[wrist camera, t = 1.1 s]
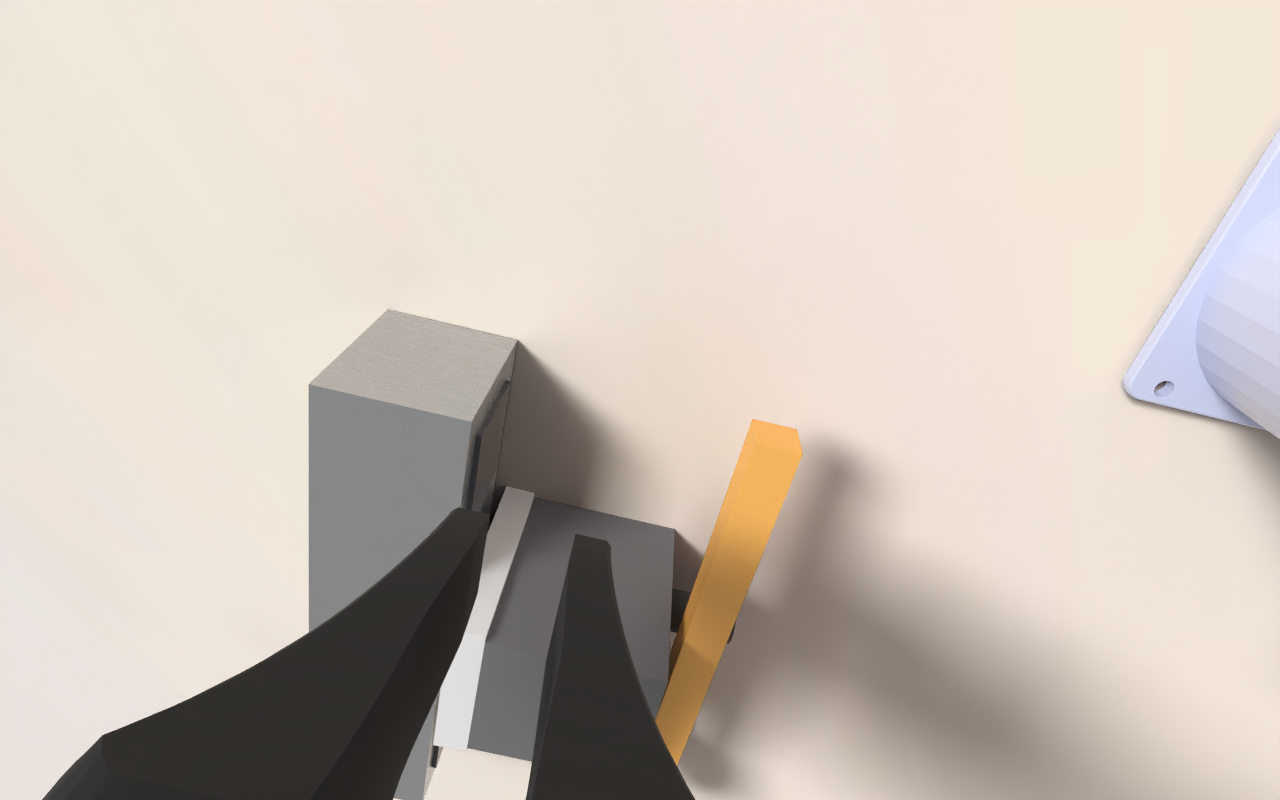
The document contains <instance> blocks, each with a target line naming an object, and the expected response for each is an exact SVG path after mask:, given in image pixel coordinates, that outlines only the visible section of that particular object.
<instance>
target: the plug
mask: <svg viewBox="0 0 1280 800" xmlns="http://www.w3.org/2000/svg"><path fill="white" fill-rule="evenodd" d="M534 496H535V493H533V492H529V491H525V490H520V489H516V488H511V487H506V489H505V492H504V494H503V497H502V499H501V501H500V504H499V506H498V509H497V511H496V514H495V516H494V519H493V521H492V524H491V526H490V528H489V531H488V533H487V537H486V544H485V550H484V557H483V563H482V569H481V576H480V582H479V589H478V594H477V597H476V600H475V603H474V606H473V609H472V612H471V615H470V618H469V621H468V624H467V627H466V630H465V633H464V636H463V639H462V642H461V644H460V646H459V649H458V651H457V653H456V655H455V657H454V660H453V662H452V664H451V666H450V668H449V670H448V673H447V675H446V677H445V679H444V681H443V684H442V686H441V689H440V697H439V704H438V712H437V719H436V727H435V734H434V742H433V745H435V746H440V747H445V748H449V749H454V750H459V751H464V752H466V751H467V748H470V749H475V750H480V751H484V752H489V753H494V754H499V755H503V756H508V757H513V758H518V759H522V760H527V761H532V759H533V751H534V744H535V737H536V729H537V722H538V715H539V707H540V700H541V693H542V685H543V678H544V671H545V664H546V658H547V654H548V649H549V645H550V641H551V636H552V632H553V628H554V624H555V619H556V615H557V611H558V606H559V602H560V598H561V593H562V589H563V585H564V580H565V576H566V572H567V568H568V563H569V559H570V555H571V551H572V546H573V542H574V538H575V534H579V535H584V536H588V537H592V538H597V539H601V540H606V541H607V542H608V543H609V544H610V546H611V565H612V574H613V582H614V588H615V594H616V599H617V604H618V609H619V613H620V617H621V622H622V626H623V630H624V634H625V638H626V641H627V645H628V648H629V652H630V655H631V658H632V661H633V664H634V668H635V671H636V674H637V676H638V679H639V682H640V685H641V688H642V690H643V693H644V696H645V698H646V701H647V703H648V706H649V708H650V711H651V713H652V715H653V718H654V720H655V717H656V714H657V711H658V709H659V706H660V703H661V700H662V698H663V695H664V692H665V689H666V686H667V684H668V670H669V648H670V631H671V632H676V633H677V632H678V629H679V627H680V624H681V621H682V618H683V615H684V612H685V610H686V607H687V604H688V601H689V598H690V595H691V593H690V592H685V591H681V590H677V589H672V582H673V560H674V538H675V529H671V528H667V527H663V526H658V525H654V524H649V523H645V522H640V521H636V520H632V519H627V518H623V517H618V516H614V515H610V514H605V513H601V512H596V511H592V510H587V509H583V508H579V507H574V506H570V505H565V504H561V503H556V502H552V501H548V500H543V499H539V498H534ZM735 623H736V621H735ZM735 623H734V626H733V628H732V631H731V633H730V636H729V638H728V641H727V643H726V644H728V643H729V642H730V641H731V638H732V636H733V632H734V628H735Z"/></svg>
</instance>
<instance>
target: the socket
mask: <svg viewBox="0 0 1280 800" xmlns="http://www.w3.org/2000/svg"><path fill="white" fill-rule="evenodd" d="M516 345H517V340H515V339H511V338H506V337H502V336H498V335H494V334H490V333H485V332H481V331H477V330H473V329H468V328H464V327H460V326H456V325H451V324H447V323H443V322H439V321H434V320H430V319H426V318H422V317H418V316H413V315H409V314H405V313H401V312H396V311H392V310H387V311H386V312H385V313H384V314H383V315H382V316H381V317H379V318H378V319H377V320H376V321H375V322H374V323H373V324H372V325H371V326H370V327H369V328H368V329H367V330H366V331H365V332H364V333H363V334H361V335H360V336H359V337H358V338H357V339H356V340H355V341H354V342H353V343H352V344H351V345H350V346H349V347H348V348H347V349H346V350H345V351H343V352H342V353H341V354H340V355H339V356H338V357H337V358H336V359H335V360H334V361H333V362H332V363H331V364H330V365H329V366H328V367H327V368H325V369H324V370H323V371H322V372H321V373H320V374H319V375H318V376H317V377H316V378H315V379H314V380H313V381H312V382H311V383H310V384H309V632H310V631H312V630H313V629H315V628H316V627H318V626H319V625H321V624H322V623H324V622H325V621H327V620H328V619H330V618H331V617H332V616H334V615H335V614H337V613H338V612H339V611H341V610H342V609H343V608H345V607H346V606H347V605H349V604H350V603H351V602H353V601H354V600H355V599H356V598H358V597H359V596H360V595H362V594H363V593H364V592H365V591H367V590H368V589H369V588H370V587H372V586H373V585H374V584H375V583H377V582H378V581H379V580H380V579H382V578H383V577H384V576H385V575H386V574H387V573H389V572H390V571H391V570H392V569H393V568H394V567H395V566H396V565H398V564H399V563H400V562H401V561H402V560H403V559H404V558H405V557H407V556H408V555H409V554H410V553H411V552H412V551H413V550H414V549H415V548H416V547H417V546H418V545H419V544H421V543H422V542H423V541H424V540H425V539H426V538H427V537H428V536H429V535H430V534H431V533H432V532H433V531H434V530H435V529H436V528H437V527H438V526H439V524H440V523H441V522H442V521H443V520H444V519H445V518H446V517H447V516H448V515H449V514H450V512H451V511H452V510H454V509H456V508H458V507H459V508H464V509H468V510H473V511H477V512H481V513H486V514H490V513H491V506H492V500H493V493H494V487H495V480H496V474H497V468H498V461H499V455H500V448H501V442H502V435H503V429H504V422H505V416H506V410H507V403H508V397H509V390H510V384H511V377H512V371H513V365H514V358H515V352H516ZM489 519H490V518H489ZM488 525H489V524H488ZM487 532H488V531H487ZM440 689H441V688H440ZM439 697H440V690H439V692H438V694H437V696H436V699H435V701H434V703H433V705H432V707H431V709H430V712H429V714H428V716H427V718H426V720H425V722H424V725H423V727H422V729H421V731H420V733H419V735H418V738H417V740H416V742H415V744H414V746H413V748H412V751H411V753H410V756H409V758H408V760H407V763H406V765H405V768H404V770H403V772H402V775H401V778H400V781H399V784H398V786H397V789H396V792H395V795H394V798H397V799H402V800H424V797H425V795H426V792H427V789H428V786H429V783H430V780H431V777H432V775H433V772H434V769H435V768H436V767H437V764H438V761H439V758H440V755H441V752H442V749H443V747H440V746H435V745H433V742H434V734H435V727H436V719H437V712H438V704H439Z"/></svg>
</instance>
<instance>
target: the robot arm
mask: <svg viewBox="0 0 1280 800" xmlns="http://www.w3.org/2000/svg"><path fill="white" fill-rule="evenodd" d="M1163 381H1166V384H1165V385H1164V386H1163V387H1162V388H1161V389H1159V390H1157V391H1154V389H1155V387H1156V386H1157V385H1158V384H1159V383H1161V382H1163ZM1122 383H1123V388H1124V390H1125V391H1126V392H1127V393H1128V394H1129V395H1130V396H1131V397H1134V398H1136V399H1138V400H1143V401H1147V402H1151V403H1155V404H1159V405H1163V406H1167V407H1171V408H1176V409H1180V410H1184V411H1188V412H1192V413H1196V414H1200V415H1205V416H1209V417H1213V418H1217V419H1221V420H1225V421H1229V422H1234V423H1238V424H1242V425H1246V426H1250V427H1254V428H1258V429H1263V430H1267V431H1269V432H1270V433H1272V434H1273V435H1274V436H1276V437H1277V438H1279V439H1280V128H1279V130H1278V132H1277V133H1276V135H1275V136H1274V138H1273V140H1272V141H1271V143H1270V144H1269V146H1268V148H1267V149H1266V151H1265V152H1264V154H1263V156H1262V157H1261V159H1260V160H1259V162H1258V164H1257V165H1256V167H1255V168H1254V170H1253V172H1252V173H1251V175H1250V176H1249V178H1248V180H1247V181H1246V183H1245V184H1244V186H1243V188H1242V189H1241V191H1240V192H1239V194H1238V196H1237V197H1236V199H1235V200H1234V202H1233V204H1232V205H1231V207H1230V208H1229V210H1228V212H1227V213H1226V215H1225V216H1224V218H1223V219H1222V221H1221V223H1220V224H1219V226H1218V227H1217V229H1216V231H1215V232H1214V234H1213V235H1212V237H1211V239H1210V240H1209V242H1208V243H1207V245H1206V247H1205V248H1204V250H1203V251H1202V253H1201V255H1200V256H1199V258H1198V259H1197V261H1196V263H1195V264H1194V266H1193V267H1192V269H1191V271H1190V272H1189V274H1188V275H1187V277H1186V279H1185V280H1184V282H1183V283H1182V285H1181V287H1180V288H1179V290H1178V291H1177V293H1176V295H1175V296H1174V298H1173V299H1172V301H1171V303H1170V304H1169V306H1168V307H1167V309H1166V311H1165V312H1164V314H1163V315H1162V317H1161V318H1160V320H1159V322H1158V323H1157V325H1156V326H1155V328H1154V330H1153V331H1152V333H1151V334H1150V336H1149V338H1148V339H1147V341H1146V342H1145V344H1144V346H1143V347H1142V349H1141V350H1140V352H1139V354H1138V355H1137V357H1136V358H1135V360H1134V362H1133V363H1132V365H1131V366H1130V368H1129V370H1128V371H1127V373H1126V374H1125V376H1124V379H1123V381H1122ZM489 518H490V514H486V513H481V512H477V511H473V510H468V509H464V508H459V507H458V508H456V509H454V510H452V511H451V512H450V514H449V515H448V516H447V517H446V518H445V519H444V520H443V521H442V522H441V523H440V524H439V526H438V527H437V528H436V529H435V530H434V531H433V532H432V533H431V534H430V535H429V536H428V537H427V538H426V539H425V540H424V541H423V542H422V543H421V544H419V545H418V546H417V547H416V548H415V549H414V550H413V551H412V552H411V553H410V554H409V555H408V556H407V557H405V558H404V559H403V560H402V561H401V562H400V563H399V564H398V565H396V566H395V567H394V568H393V569H392V570H391V571H390V572H389V573H387V574H386V575H385V576H384V577H383V578H382V579H380V580H379V581H378V582H377V583H375V584H374V585H373V586H372V587H370V588H369V589H368V590H367V591H365V592H364V593H363V594H362V595H360V596H359V597H358V598H356V599H355V600H354V601H353V602H351V603H350V604H349V605H347V606H346V607H345V608H343V609H342V610H341V611H339V612H338V613H337V614H335V615H334V616H332V617H331V618H330V619H328V620H327V621H325V622H324V623H322V624H321V625H319V626H318V627H316V628H315V629H313V630H312V631H310V632H309V633H307V634H306V635H304V636H303V637H301V638H300V639H298V640H296V641H295V642H293V643H291V644H290V645H288V646H287V647H285V648H283V649H282V650H280V651H278V652H277V653H275V654H273V655H272V656H270V657H268V658H267V659H265V660H263V661H261V662H260V663H258V664H256V665H254V666H253V667H251V668H249V669H247V670H245V671H243V672H241V673H240V674H238V675H236V676H234V677H232V678H230V679H228V680H226V681H224V682H222V683H220V684H218V685H216V686H214V687H212V688H210V689H208V690H206V691H204V692H202V693H200V694H198V695H196V696H194V697H192V698H190V699H188V700H186V701H183V702H181V703H179V704H177V705H175V706H173V707H170V708H168V709H165V710H163V711H161V712H158V713H156V714H153V715H151V716H149V717H146V718H144V719H141V720H139V721H137V722H134V723H132V724H130V725H127V726H125V727H122V728H120V729H117V730H115V731H112V732H110V733H107V734H104V735H102V736H101V737H100V738H99V740H98V741H97V742H96V743H95V744H94V745H93V746H92V747H91V748H90V749H89V750H88V751H87V752H86V753H85V754H84V755H82V756H81V757H80V758H79V759H78V760H77V761H76V762H75V763H74V764H73V765H72V766H71V767H70V768H69V769H68V770H67V772H66V773H65V774H64V775H63V776H62V777H61V778H60V779H59V780H58V781H57V783H56V784H55V785H54V786H53V787H52V789H51V790H50V791H49V792H48V793H47V795H46V796H45V797H44V798H43V799H42V800H393V798H394V795H395V792H396V789H397V786H398V784H399V781H400V778H401V775H402V772H403V770H404V768H405V765H406V763H407V760H408V758H409V756H410V753H411V751H412V748H413V746H414V744H415V742H416V740H417V738H418V735H419V733H420V731H421V729H422V727H423V725H424V722H425V720H426V718H427V716H428V714H429V712H430V709H431V707H432V705H433V703H434V701H435V699H436V696H437V694H438V692H439V690H440V688H441V686H442V684H443V681H444V679H445V677H446V675H447V673H448V670H449V668H450V666H451V664H452V662H453V660H454V657H455V655H456V653H457V651H458V649H459V646H460V644H461V642H462V639H463V636H464V633H465V630H466V627H467V624H468V621H469V618H470V615H471V612H472V609H473V606H474V603H475V600H476V597H477V594H478V589H479V582H480V576H481V569H482V563H483V557H484V550H485V544H486V537H487V531H488V524H489ZM526 800H695V798H694V797H693V795H692V793H691V792H690V790H689V788H688V786H687V785H686V783H685V781H684V779H683V777H682V775H681V773H680V771H679V769H678V767H677V765H676V763H675V761H674V760H673V758H672V756H671V754H670V752H669V750H668V748H667V746H666V744H665V742H664V740H663V738H662V736H661V733H660V731H659V729H658V727H657V724H656V722H655V720H654V718H653V715H652V713H651V711H650V708H649V706H648V703H647V701H646V698H645V696H644V693H643V690H642V688H641V685H640V682H639V679H638V676H637V674H636V671H635V668H634V664H633V661H632V658H631V655H630V652H629V648H628V645H627V641H626V638H625V634H624V630H623V626H622V622H621V617H620V613H619V609H618V604H617V599H616V594H615V588H614V582H613V574H612V565H611V546H610V544H609V543H608V542H607V541H606V540H601V539H597V538H592V537H588V536H584V535H579V534H575V538H574V542H573V546H572V551H571V555H570V559H569V563H568V568H567V572H566V576H565V580H564V585H563V589H562V593H561V598H560V602H559V606H558V611H557V615H556V619H555V624H554V628H553V632H552V636H551V641H550V645H549V649H548V654H547V658H546V664H545V671H544V678H543V685H542V693H541V700H540V707H539V715H538V722H537V729H536V737H535V744H534V751H533V759H532V766H531V773H530V779H529V785H528V790H527V796H526Z"/></svg>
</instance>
